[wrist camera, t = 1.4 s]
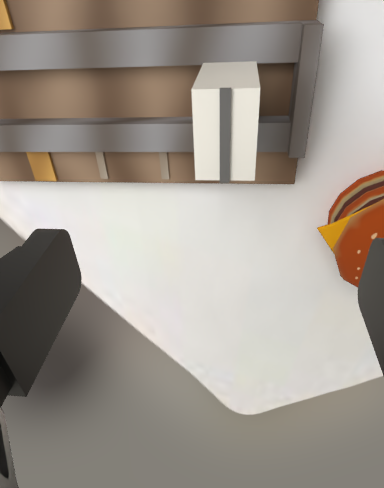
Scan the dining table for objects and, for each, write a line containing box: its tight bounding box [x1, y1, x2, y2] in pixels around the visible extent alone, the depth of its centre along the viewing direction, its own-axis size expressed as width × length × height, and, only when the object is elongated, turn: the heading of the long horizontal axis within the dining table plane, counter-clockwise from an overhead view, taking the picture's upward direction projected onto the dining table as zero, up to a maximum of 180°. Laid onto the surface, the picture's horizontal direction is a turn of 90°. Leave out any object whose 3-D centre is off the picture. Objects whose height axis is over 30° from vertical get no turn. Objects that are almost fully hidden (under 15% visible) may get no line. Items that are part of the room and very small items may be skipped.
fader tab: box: [191, 61, 260, 183], centre depth 21 cm, size 3×4×9 cm, turn 2°
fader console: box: [0, 0, 324, 184], centre depth 25 cm, size 26×14×4 cm, turn 92°
